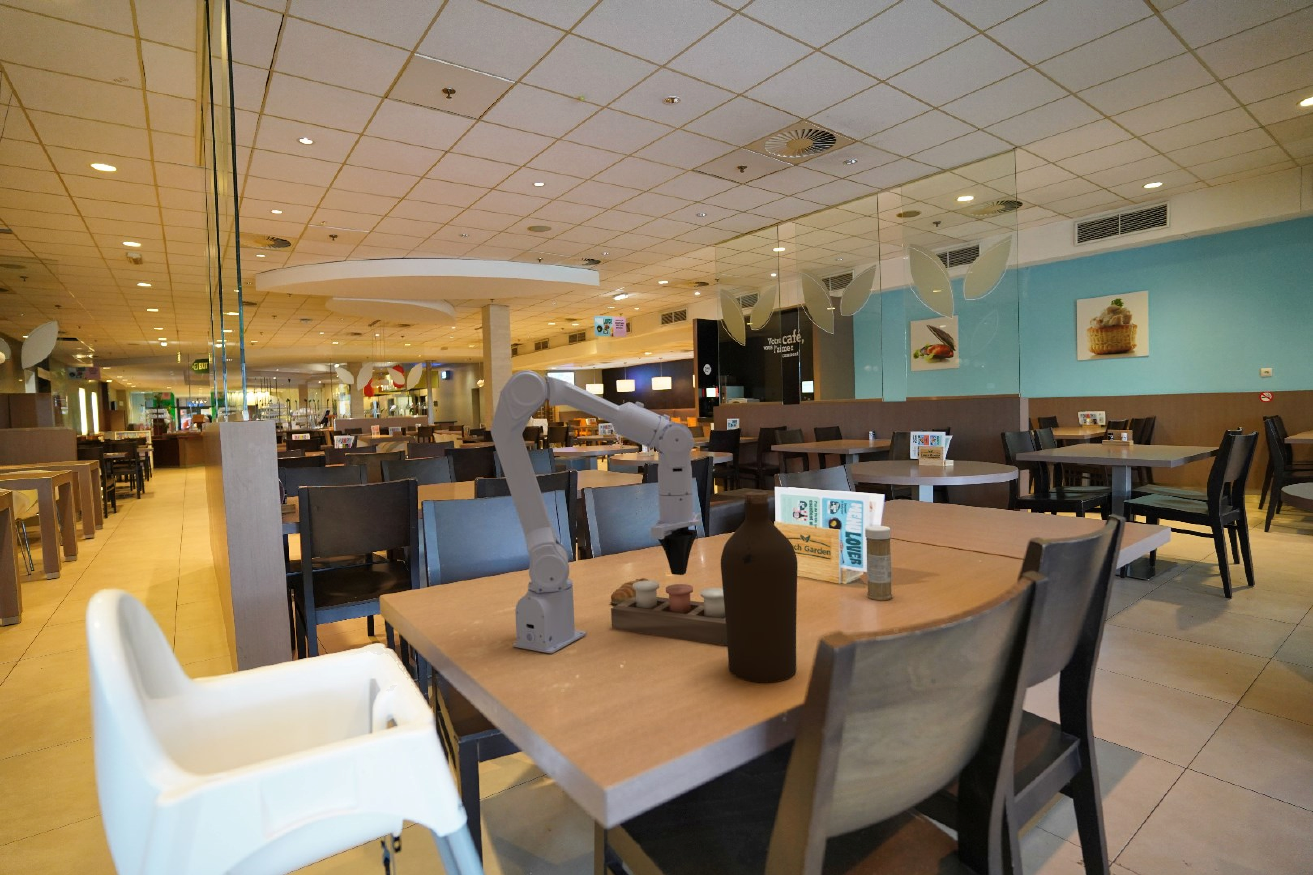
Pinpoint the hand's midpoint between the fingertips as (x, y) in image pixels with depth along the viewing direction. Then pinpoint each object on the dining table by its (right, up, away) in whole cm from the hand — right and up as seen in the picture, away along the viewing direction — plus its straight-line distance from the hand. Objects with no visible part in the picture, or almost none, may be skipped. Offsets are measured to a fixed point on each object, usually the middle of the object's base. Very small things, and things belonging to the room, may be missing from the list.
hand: (678, 573), depth 111 cm
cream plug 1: (-5, -6, +3) cm, 9 cm away
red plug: (0, -6, 0) cm, 6 cm away
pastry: (-8, -9, +19) cm, 23 cm away
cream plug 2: (+6, -6, -3) cm, 9 cm away
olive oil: (+11, -10, -18) cm, 24 cm away
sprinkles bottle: (+39, -8, +13) cm, 41 cm away
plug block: (0, -9, 0) cm, 9 cm away
